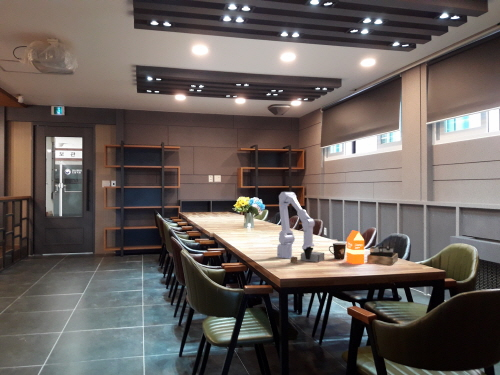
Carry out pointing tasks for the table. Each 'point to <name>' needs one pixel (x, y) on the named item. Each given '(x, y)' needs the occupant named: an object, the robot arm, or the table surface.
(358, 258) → the orange juice
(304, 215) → the robot arm
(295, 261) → the walnut block
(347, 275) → the table surface
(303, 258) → the grey drawer
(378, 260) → the frame
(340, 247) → the coffee mug
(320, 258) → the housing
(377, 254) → the camera
